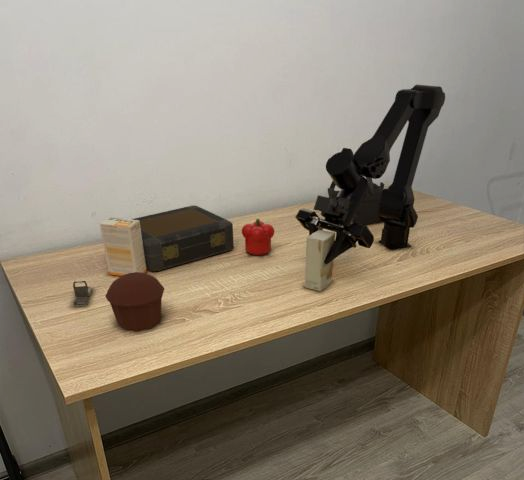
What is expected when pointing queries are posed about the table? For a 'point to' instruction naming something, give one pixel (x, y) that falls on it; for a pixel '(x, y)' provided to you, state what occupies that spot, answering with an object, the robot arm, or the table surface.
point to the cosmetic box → (318, 260)
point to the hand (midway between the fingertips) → (316, 260)
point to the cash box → (183, 236)
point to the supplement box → (123, 246)
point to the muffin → (136, 301)
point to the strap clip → (81, 294)
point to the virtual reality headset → (365, 204)
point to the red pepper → (258, 237)
